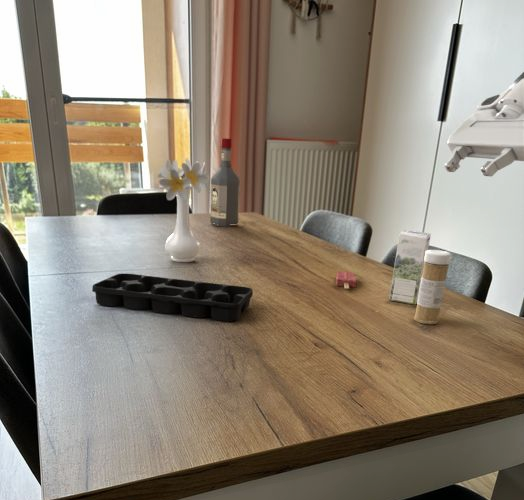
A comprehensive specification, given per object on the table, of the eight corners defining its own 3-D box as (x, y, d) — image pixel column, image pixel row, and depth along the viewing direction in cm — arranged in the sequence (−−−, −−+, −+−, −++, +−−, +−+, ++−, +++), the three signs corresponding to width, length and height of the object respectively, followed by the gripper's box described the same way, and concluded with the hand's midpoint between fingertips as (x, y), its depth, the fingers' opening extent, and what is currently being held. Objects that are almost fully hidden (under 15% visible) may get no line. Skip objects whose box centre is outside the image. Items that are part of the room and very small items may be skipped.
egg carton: (109, 288, 107) (108, 270, 106) (253, 296, 107) (254, 279, 106) (80, 315, 91) (79, 294, 89) (250, 324, 91) (251, 304, 90)
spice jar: (429, 317, 101) (442, 249, 96) (442, 325, 97) (456, 254, 92) (408, 317, 100) (420, 248, 95) (421, 325, 96) (434, 254, 91)
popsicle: (337, 283, 114) (336, 269, 128) (336, 291, 114) (335, 276, 128) (357, 285, 113) (354, 271, 127) (356, 293, 114) (353, 278, 128)
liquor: (226, 222, 199) (229, 138, 188) (241, 225, 193) (244, 139, 181) (207, 223, 194) (208, 137, 182) (221, 227, 187) (223, 138, 176)
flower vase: (157, 268, 125) (154, 159, 116) (161, 252, 142) (159, 156, 133) (210, 269, 127) (212, 162, 118) (208, 253, 144) (210, 158, 135)
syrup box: (419, 299, 113) (431, 232, 107) (415, 305, 108) (427, 236, 102) (393, 294, 115) (404, 229, 109) (388, 301, 110) (398, 232, 104)
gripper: (582, 128, 81) (518, 191, 81) (489, 128, 98) (437, 180, 99) (569, 94, 77) (503, 160, 78) (475, 100, 95) (422, 154, 96)
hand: (465, 171), depth 89 cm, fingers open, 8 cm apart
